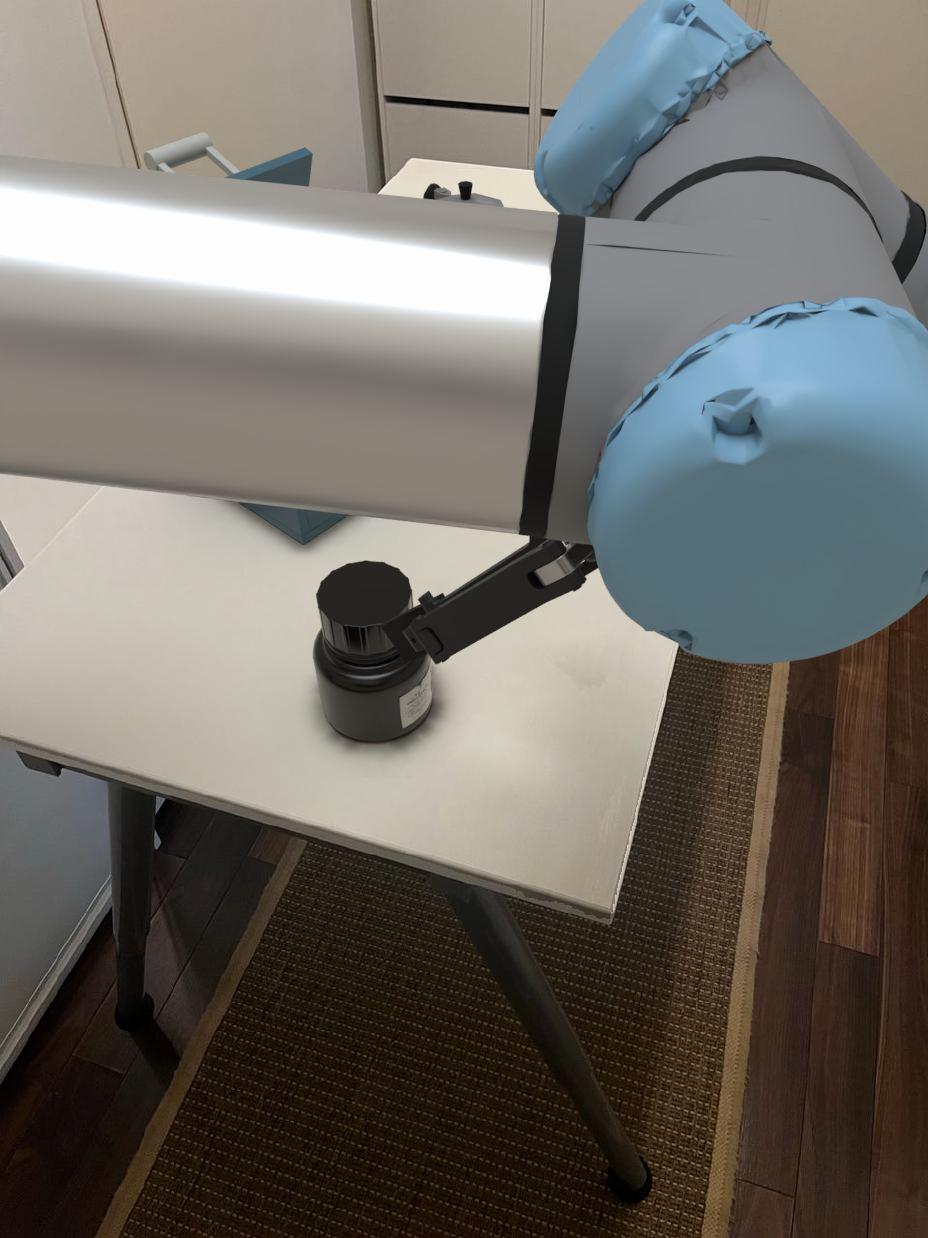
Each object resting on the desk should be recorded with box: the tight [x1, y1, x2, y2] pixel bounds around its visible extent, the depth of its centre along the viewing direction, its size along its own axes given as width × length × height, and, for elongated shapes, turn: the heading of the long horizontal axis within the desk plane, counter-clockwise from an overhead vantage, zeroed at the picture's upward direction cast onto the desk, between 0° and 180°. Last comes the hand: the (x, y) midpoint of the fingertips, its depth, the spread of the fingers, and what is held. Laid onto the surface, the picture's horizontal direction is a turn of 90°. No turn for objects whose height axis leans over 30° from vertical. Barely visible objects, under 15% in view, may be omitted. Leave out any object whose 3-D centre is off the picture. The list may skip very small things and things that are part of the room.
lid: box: [143, 131, 314, 187], centre depth 85 cm, size 19×16×9 cm
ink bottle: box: [312, 559, 434, 741], centre depth 70 cm, size 10×9×12 cm
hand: (468, 584), depth 60 cm, fingers open, 13 cm apart
